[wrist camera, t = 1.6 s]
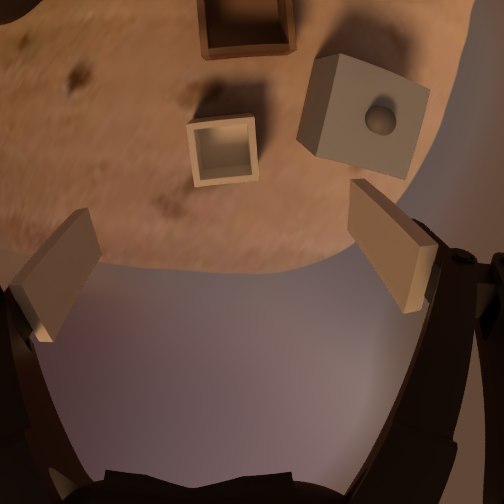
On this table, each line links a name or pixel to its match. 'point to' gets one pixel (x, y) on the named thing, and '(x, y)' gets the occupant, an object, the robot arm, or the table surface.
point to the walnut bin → (245, 28)
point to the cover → (362, 115)
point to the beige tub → (223, 149)
